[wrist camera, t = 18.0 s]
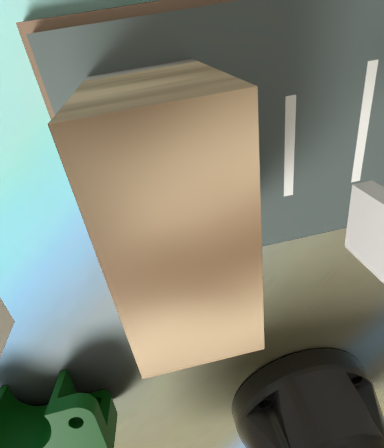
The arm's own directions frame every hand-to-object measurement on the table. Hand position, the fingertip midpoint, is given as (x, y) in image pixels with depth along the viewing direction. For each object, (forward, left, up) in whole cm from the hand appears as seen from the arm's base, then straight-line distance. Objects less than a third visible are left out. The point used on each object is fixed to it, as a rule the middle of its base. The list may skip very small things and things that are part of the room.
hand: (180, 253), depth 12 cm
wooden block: (0, 0, -8) cm, 8 cm away
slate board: (0, -6, -10) cm, 11 cm away
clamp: (-19, +14, -10) cm, 26 cm away
